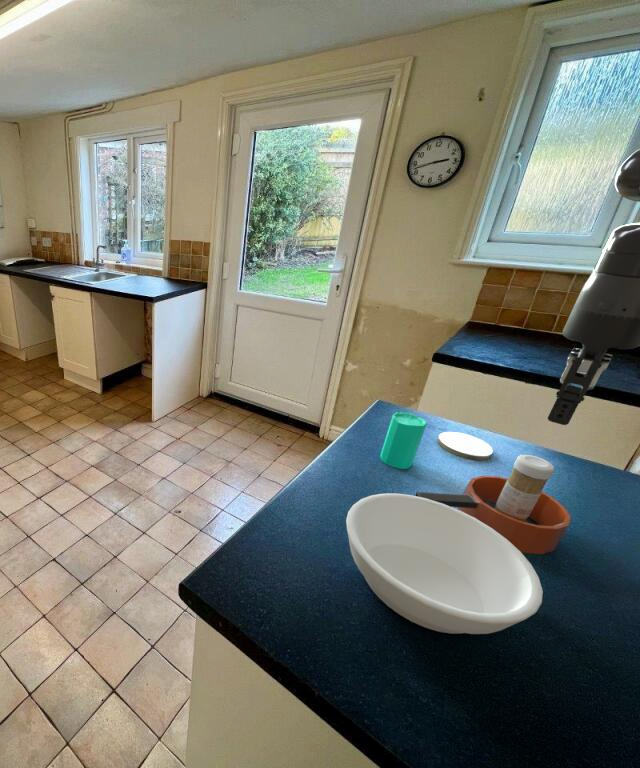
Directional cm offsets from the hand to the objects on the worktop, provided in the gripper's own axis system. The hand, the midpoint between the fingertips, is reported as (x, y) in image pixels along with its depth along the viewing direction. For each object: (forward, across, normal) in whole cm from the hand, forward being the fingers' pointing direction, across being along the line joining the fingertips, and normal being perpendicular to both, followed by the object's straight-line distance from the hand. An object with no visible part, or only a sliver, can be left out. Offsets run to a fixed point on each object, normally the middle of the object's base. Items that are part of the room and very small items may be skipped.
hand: (562, 412), depth 62 cm
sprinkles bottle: (+23, +1, 0) cm, 23 cm away
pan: (+23, -2, +3) cm, 23 cm away
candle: (+23, +7, +20) cm, 31 cm away
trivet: (+23, +24, +12) cm, 36 cm away
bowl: (+23, -25, +5) cm, 34 cm away
